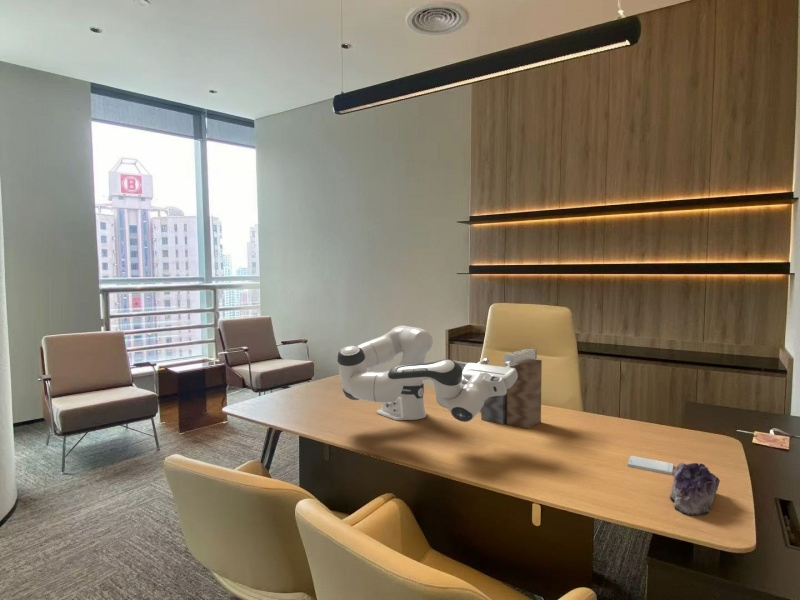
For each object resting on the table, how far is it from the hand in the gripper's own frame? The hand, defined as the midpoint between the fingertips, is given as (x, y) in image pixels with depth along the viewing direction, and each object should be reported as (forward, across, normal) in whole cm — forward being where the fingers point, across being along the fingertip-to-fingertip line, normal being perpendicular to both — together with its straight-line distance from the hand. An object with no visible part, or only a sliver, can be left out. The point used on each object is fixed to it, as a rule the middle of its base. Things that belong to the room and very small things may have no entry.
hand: (498, 360), depth 177 cm
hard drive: (-9, +51, -29) cm, 59 cm away
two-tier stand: (+5, -6, -36) cm, 37 cm away
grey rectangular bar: (+16, 0, -13) cm, 20 cm away
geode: (-26, +65, -19) cm, 73 cm away
